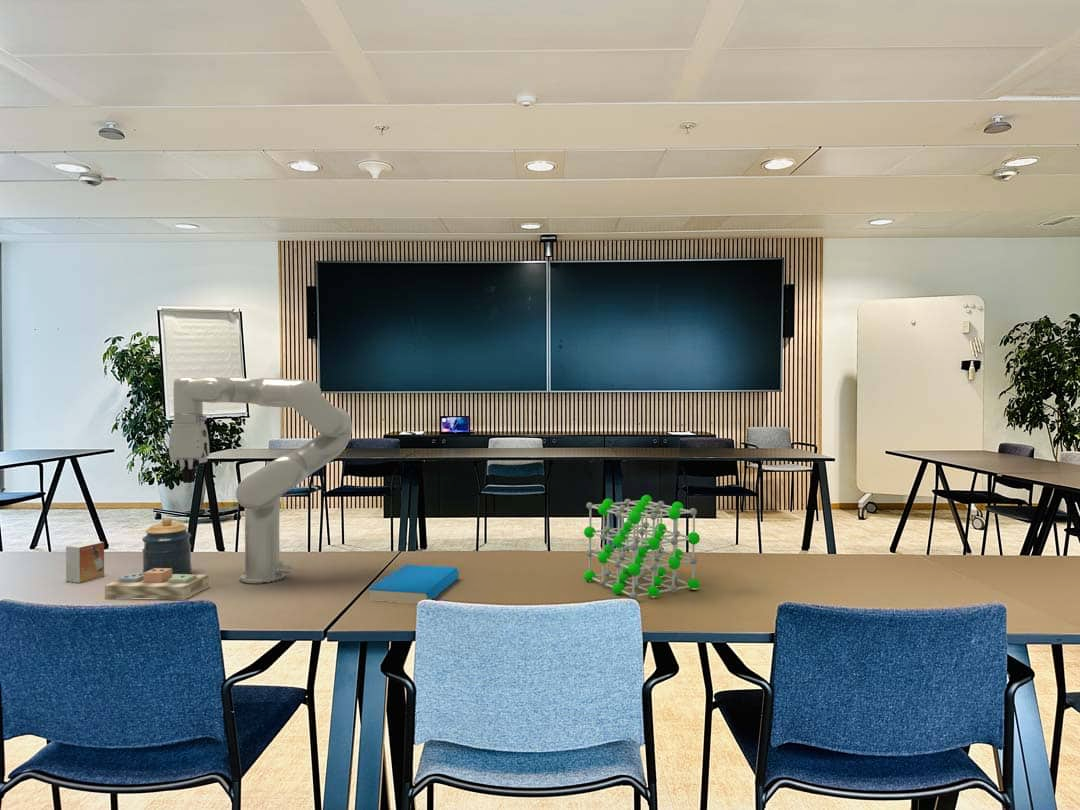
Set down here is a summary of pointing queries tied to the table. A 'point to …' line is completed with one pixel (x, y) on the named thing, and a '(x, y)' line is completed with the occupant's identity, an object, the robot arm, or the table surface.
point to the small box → (84, 561)
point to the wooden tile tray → (156, 589)
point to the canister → (167, 547)
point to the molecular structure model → (640, 546)
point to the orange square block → (157, 575)
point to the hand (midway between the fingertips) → (189, 482)
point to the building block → (132, 578)
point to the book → (414, 583)
